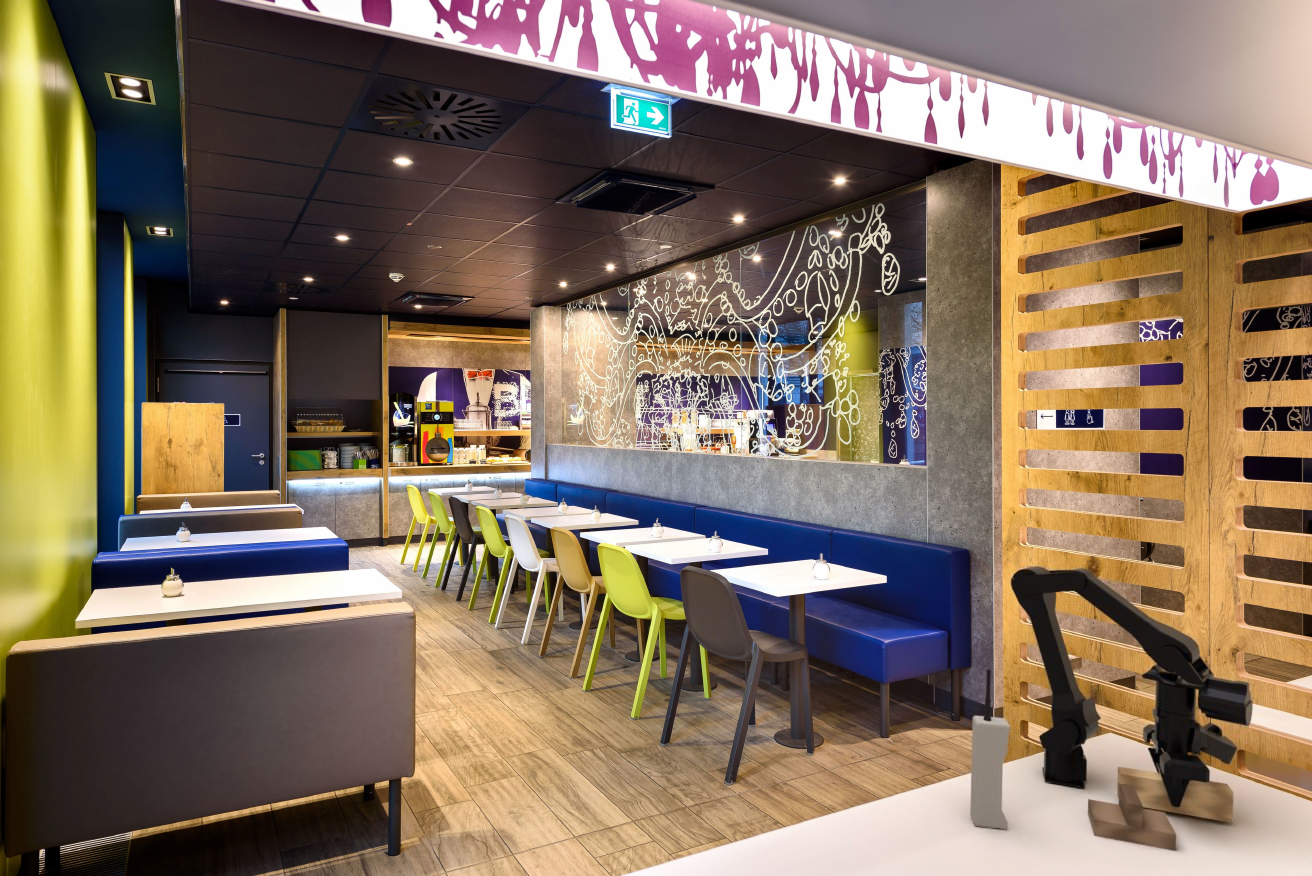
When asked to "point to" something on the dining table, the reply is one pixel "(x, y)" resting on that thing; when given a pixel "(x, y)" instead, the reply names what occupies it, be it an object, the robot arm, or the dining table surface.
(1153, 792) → the light wooden block
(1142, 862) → the dining table surface
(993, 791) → the vintage mobile phone
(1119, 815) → the ridge stand
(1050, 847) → the dining table surface
